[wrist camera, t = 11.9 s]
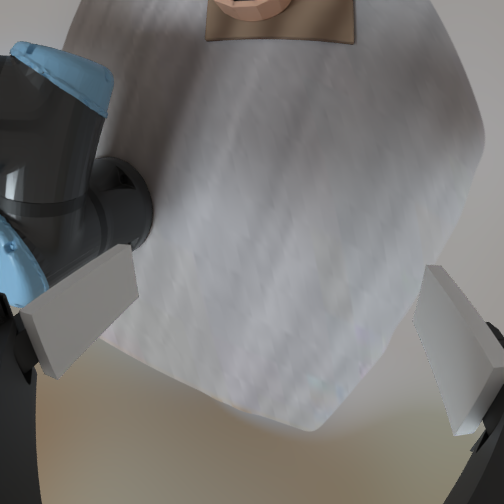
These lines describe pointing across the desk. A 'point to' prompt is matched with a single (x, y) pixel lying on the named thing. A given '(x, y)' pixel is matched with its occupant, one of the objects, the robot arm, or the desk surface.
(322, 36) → the board
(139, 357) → the desk surface
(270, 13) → the terracotta bowl
